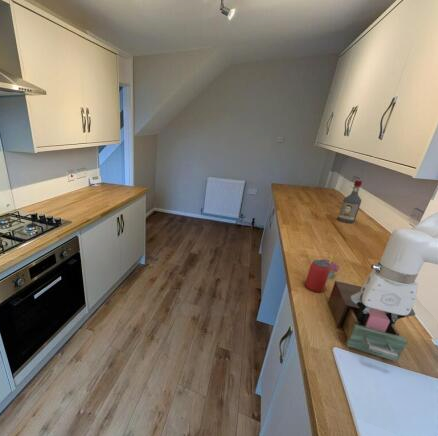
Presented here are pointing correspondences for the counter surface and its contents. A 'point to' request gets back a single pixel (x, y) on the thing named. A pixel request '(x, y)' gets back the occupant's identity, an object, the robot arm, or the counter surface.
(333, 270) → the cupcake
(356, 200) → the liquor
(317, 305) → the counter surface
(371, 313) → the block
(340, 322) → the cabinet
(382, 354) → the drawer
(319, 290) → the beer can
